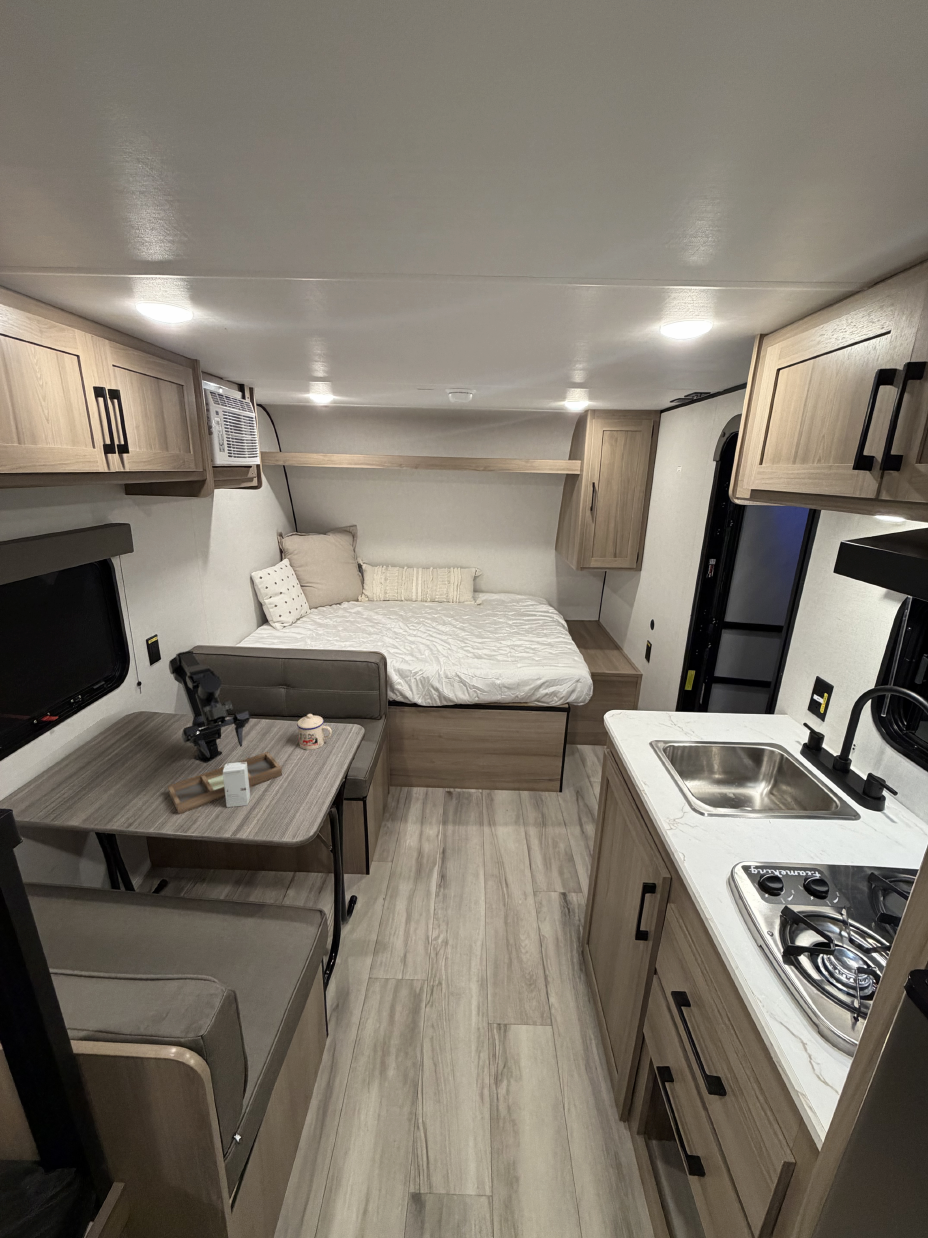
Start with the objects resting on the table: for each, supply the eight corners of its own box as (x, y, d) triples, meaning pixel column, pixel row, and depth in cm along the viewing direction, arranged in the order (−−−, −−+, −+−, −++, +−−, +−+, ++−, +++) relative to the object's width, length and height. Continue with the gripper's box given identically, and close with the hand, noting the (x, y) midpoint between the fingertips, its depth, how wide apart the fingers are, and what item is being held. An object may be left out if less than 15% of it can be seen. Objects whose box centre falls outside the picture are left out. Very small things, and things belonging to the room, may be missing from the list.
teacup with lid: (294, 750, 177) (292, 720, 174) (304, 736, 186) (302, 708, 183) (328, 751, 176) (326, 722, 173) (336, 738, 185) (334, 709, 182)
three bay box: (169, 794, 153) (167, 786, 152) (268, 759, 171) (267, 751, 171) (178, 814, 144) (177, 805, 143) (282, 775, 163) (281, 767, 162)
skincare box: (226, 808, 147) (220, 772, 143) (229, 798, 151) (224, 763, 148) (248, 805, 148) (244, 769, 145) (251, 796, 153) (246, 761, 149)
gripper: (178, 703, 145) (193, 753, 140) (245, 686, 156) (261, 732, 152) (175, 718, 153) (190, 766, 148) (239, 701, 164) (255, 744, 160)
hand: (225, 751), depth 151 cm, fingers open, 9 cm apart
